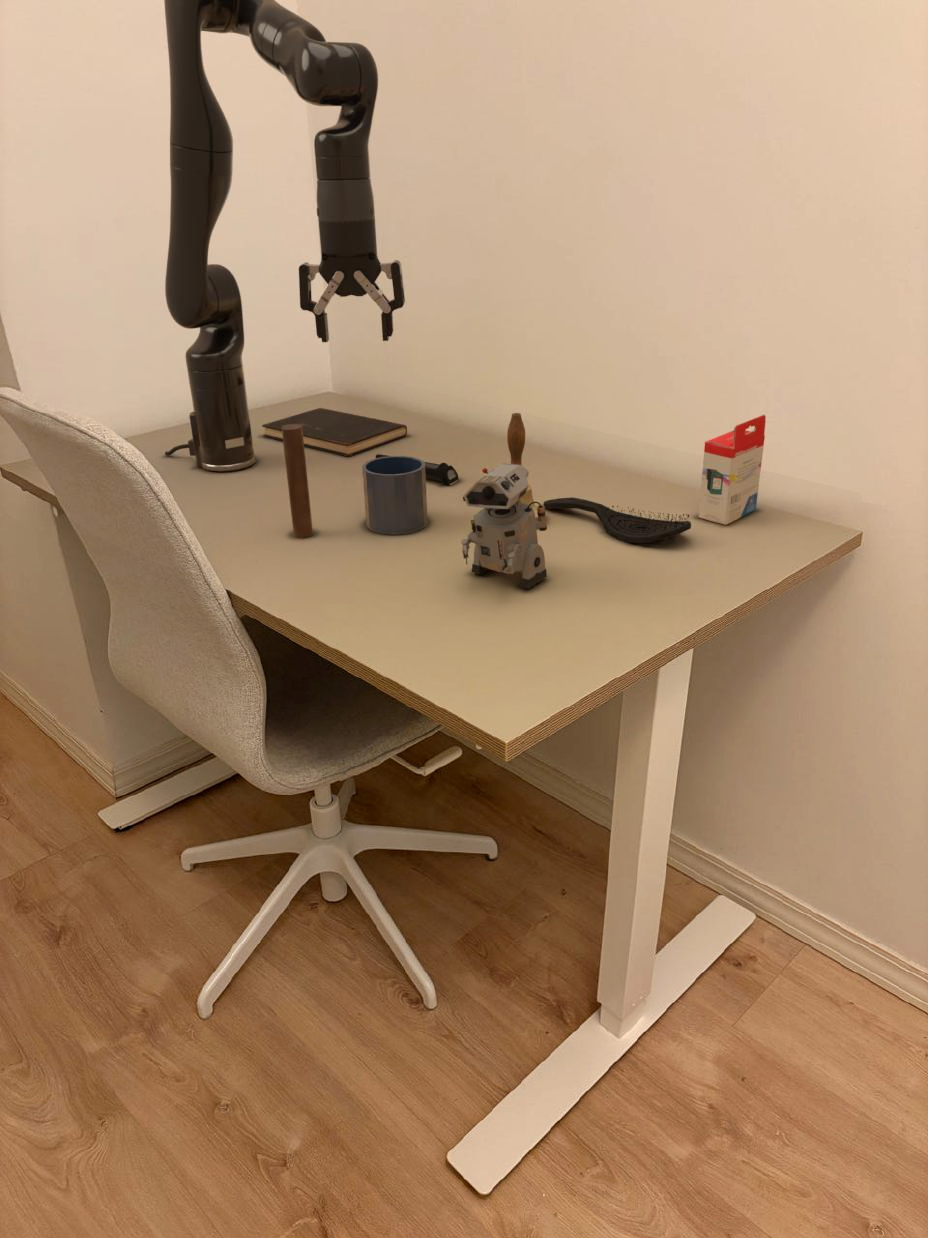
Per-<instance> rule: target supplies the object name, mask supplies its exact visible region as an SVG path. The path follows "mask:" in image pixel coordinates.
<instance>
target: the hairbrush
mask: <svg viewBox="0 0 928 1238" xmlns="http://www.w3.org/2000/svg"><path fill="white" fill-rule="evenodd" d="M543 506H544V507H545V509H547V510H548V509H550V510H551V509H570V510H571V509H573V510H574V509H575V510H579V511H584V512H588V513H593V514H595V515H596V517H597V518H598V520H599V521H600V522H601V524H602V526H603V528H604V529H605V531H606V532H607V533H608V534H609V535H611V536H612V537H614V538H615V539H616V540H619V541H623V542H626V543H631V544H632V543H633V544H648V543H651V542H652V543H653V542H656V541H657V542H658V541H663V540H666V539H669V538H671V537H675V536H678V535H680V534H682V533H685V532H686V531H688V530H690V529H692V522H691V521H689V517H690V514H688V513H686V514H685V513H683V514H682V515H681V514H680V515H679V517H678V514H677V513H676V514H675V516H676V517H675V516H673V515H674V514H671V519H670V513H667V515H666V517H665V513H664V512H663V513H662V512H658V516H657V518H652V517H656V514H653V512H652V511H650V510H649V511H648V513H650V514H648V517H647V515H645V516H643V515H642V512H643V513H644V510H641V512H640V509H638V511H637V514H639V515H637V514H636V511H635V508H632V510H630V508H629V506H628V507H627V509H629V511H628V513H625V511H626V510H625V509H620V510H621V511H620V510H617V511H616V510H614V509H613V508H614V507H615V505H612V506H611V508H610V506H606V505H604V504H601V503H598V502H594V501H592V500H588V499H583V498H578V497H559V498H553V499H552V498H551V499H547V500H545V501H543ZM616 507H617V508H619V505H617V506H616ZM630 513H631V514H630ZM651 514H653V515H651ZM661 514H662V515H663V517H661ZM684 516H685V517H684ZM677 517H678V520H677ZM669 519H670V520H669ZM682 519H683V520H682Z"/></svg>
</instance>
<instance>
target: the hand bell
mask: <svg viewBox="0 0 928 1238" xmlns="http://www.w3.org/2000/svg"><path fill="white" fill-rule="evenodd" d="M506 433H507V434H506V438H507V439H506V440H507V441H506V442H507V447H508V450H509V455H510V464H519V465H521V466H523V464H522V457H523V452H524V450H525V445H526V428H525V425H524V421H523V419H522V414H521V413H519V412H513V413H511V417H510V421H509V423H508V427H507V432H506ZM532 490H533V489H532V485H531V484H530V483H528V488H527V491H526V494H525V496H523V497H522V498H521V499H520V501H521V502H520V503H524V504H528V505H529V504H530V503H532V502H535V501H534V497H533V491H532ZM531 506H532V508H533V510H534V512H535V517H538V514H537V506H536V503H533V504H531Z"/></svg>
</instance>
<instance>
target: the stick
mask: <svg viewBox="0 0 928 1238" xmlns="http://www.w3.org/2000/svg"><path fill="white" fill-rule="evenodd" d="M282 435H283V441H282V445H283V451H284V452H283V453H284V462H285V470H286V471H285V472H286V480H287V489H288V497H289V506H290V507H289V508H290V516H291V524H292V532H293V537H295V538H298V539H304V538H309V537H312V536H313V535H314V530H313V528H314V527H313V520H312V510H311V500H310V491H309V481H308V471H307V470H308V469H307V461H306V460H307V459H306V451H305V450H306V449H305V446H304V440H303V430H302V425H299V424H288V425H284V426H282Z"/></svg>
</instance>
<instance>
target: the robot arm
mask: <svg viewBox="0 0 928 1238" xmlns="http://www.w3.org/2000/svg"><path fill="white" fill-rule="evenodd" d="M163 1H164V3H163V4H164V17H165V29H166V40H167V41H166V43H167V51H168V52H167V53H168V65H169V94H170V95H169V96H170V97H169V99H170V100H169V101H170V106H169V107H170V109H169V111H170V114H169V115H170V116H169V117H170V120H169V122H170V123H169V124H170V125H169V126H170V127H169V172H170V173H169V176H170V177H169V178H170V210H169V211H170V212H169V222H170V223H169V238H168V249H167V259H166V270H165V282H164V284H165V285H164V291H165V294H164V295H165V301H166V306H167V309H168V312H169V313H170V316H171V318H172V320H174V322H175V323H176V324H177V325H179V327H181V328H183V329H189V330H193V329H199V333H198V335H197V338H196V339H195V340H194V341H193V343H192V344H191V345H190V346H189V347H188V348H187V350H186V352H185V354H184V355H185V357H184V358H185V364H186V365H185V366H186V369H187V370H186V371H187V377H188V384H189V389H190V396H191V397H190V398H191V403H192V410H193V411H192V412H190V413H189V417H188V418H189V424H190V430H191V437H192V438H191V439H190V440H188V441H187V443H184V444H179V445H176V446H174V447H172V448H171V449H170V450H168V451H167V450H166V451H165V452H164V455H165V456H166V457H167V456H172V455H173V454H174V453H176V452H177V451H180V450H183V449H188V451H189V456H191V457H195V462H196V467H197V468H202V469H204V470H206V471H211V472H233V471H239V470H244V469H247V468H249V467H251V466H253V465H254V464H255V463H256V455H255V450H254V442H253V435H252V427H251V425H252V424H251V419H250V410H249V402H248V396H247V388H246V386H247V385H246V379H245V371H244V364H243V352H244V348H245V327H244V326H245V325H244V315H243V301H242V295H241V290H240V287H239V284H238V281H237V279H236V278H235V276H234V274H233V273H232V272H231V271H230V269H228V268H227V267H226V266H224V265H221V264H218V263H209V249H210V243H211V237H212V234H213V232H214V229H215V227H216V225H217V223H218V220H219V218H220V215H221V213H222V211H223V209H224V207H225V204H226V202H227V200H228V197H229V193H230V192H231V191H230V190H231V187H232V183H233V171H234V170H233V169H234V167H233V165H234V138H233V137H234V136H233V133H232V130H231V127H230V124H229V121H228V120H227V119H228V118H227V117H226V115H225V113H224V111H223V109H222V107H221V105H220V103H219V101H218V99H217V96H216V94H215V93H214V90H213V89H212V86H211V84H210V82H209V79H208V77H207V73H206V70H205V66H204V60H203V50H202V32H205V33H206V32H207V33H215V34H235V35H236V34H237V35H240V36H244V37H248V38H249V40H250V43H251V46H252V48H253V50H254V51H255V53H256V54H257V55H258V57H259V58H260V59H261V60H262V61H263V62H264V63H265V64H267V65H268V66H269V67H271V68H273V69H274V70H275V71H277V72H278V73H280V74H282V75H283V76H285V78H286V79H287V81H288V83H289V84H290V86H291V87H292V89H293V90H294V92H295V93H296V95H297V97H298V98H300V99H301V100H302V101H304V102H306V103H308V104H310V105H313V106H316V107H340V111H339V115H338V119H337V121H336V123H335V124H334V125H332V126H330V127H326V128H323V129H320V130H318V131H317V132H316V134H315V135H314V138H313V139H314V140H313V148H314V149H313V150H314V158H315V159H314V160H315V161H314V162H315V172H316V179H317V180H316V215H317V221H318V232H319V243H320V244H319V245H320V255H321V256H320V257H321V259H320V263H319V264H313V263H311V264H310V263H309V262H303V263H302V264H300V265H299V266H298V284H299V285H298V286H299V288H298V289H299V307H300V309H301V310H302V311H306V312H310V313H312V314H313V315H314V319H315V320H314V321H315V332H316V336H317V338H318V339H321V343H328V342H329V340H330V333H329V321H328V313H327V312H326V308H327V307H328V305H329V303H330V302H331V300H332V299H333V297H334V295H336V296H339V297H340V298H344V297H345V298H346V297H349V296H353V297H364V296H366V295H367V294H368V296H369V297H370V299H371V300H372V301H373V302H374V303H375V304H376V305H377V306H378V308H379V309H380V310H381V311H382V312H381V314H380V319H381V334H382V336H381V337H382V341H383V342H389V340H390V337H391V338H392V336H393V333H394V320H393V319H394V317H393V312H394V311H396V310H398V309H402V308H403V307H404V305H405V303H406V299H405V298H406V297H405V289H404V279H403V271H402V269H403V268H402V263H401V261H400V260H398V259H396V260H393V261H392V262H382V263H381V261H380V259H379V256H378V246H377V245H378V244H377V229H376V227H377V226H376V215H375V213H376V212H375V197H374V192H373V186H372V180H371V179H372V178H371V164H370V163H371V161H370V150H369V149H370V147H369V145H370V137H371V131H372V126H373V120H374V114H375V113H374V112H375V107H376V102H377V97H378V96H377V95H378V92H379V91H378V90H379V72H378V67H377V64H376V60H375V58H374V56H373V54H372V53H371V51H370V50H369V49H368V48H367V47H366V46H365V45H364V44H361V43H358V42H345V41H344V42H343V41H327V40H326V38H325V36H324V34H323V33H322V32H321V31H320V30H319V28H318V27H316V26H315V25H314V24H312V23H311V22H310V21H308V20H306V19H304V18H303V17H301V16H300V15H298V14H296V13H295V12H293V11H291V10H289V9H288V8H287V7H285V6H283V5H281V4H280V3H279V2H278V1H276V0H163ZM382 272H384V274H385V276H386V278H387V279H388V280H391V282H392V292H393V299H391V300H389V298H388V297H387V296H386V294H385V293H384V291H383V289H382V288H381V287H380V286H379V285H378V283H377V282H376V281H377V279H378V278H379V276H380V275H381V273H382ZM318 273H319V275H320V276H321V278H322V279H323V280H324V282H325V283H326V284H327V286H326V288H325V289H324V290H323V292H322V294H321V296H320V297H319V299H318V300H317V301H314V300H312V299H313V298H312V281H314V280H315V279H316V277H317V274H318Z"/></svg>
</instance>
